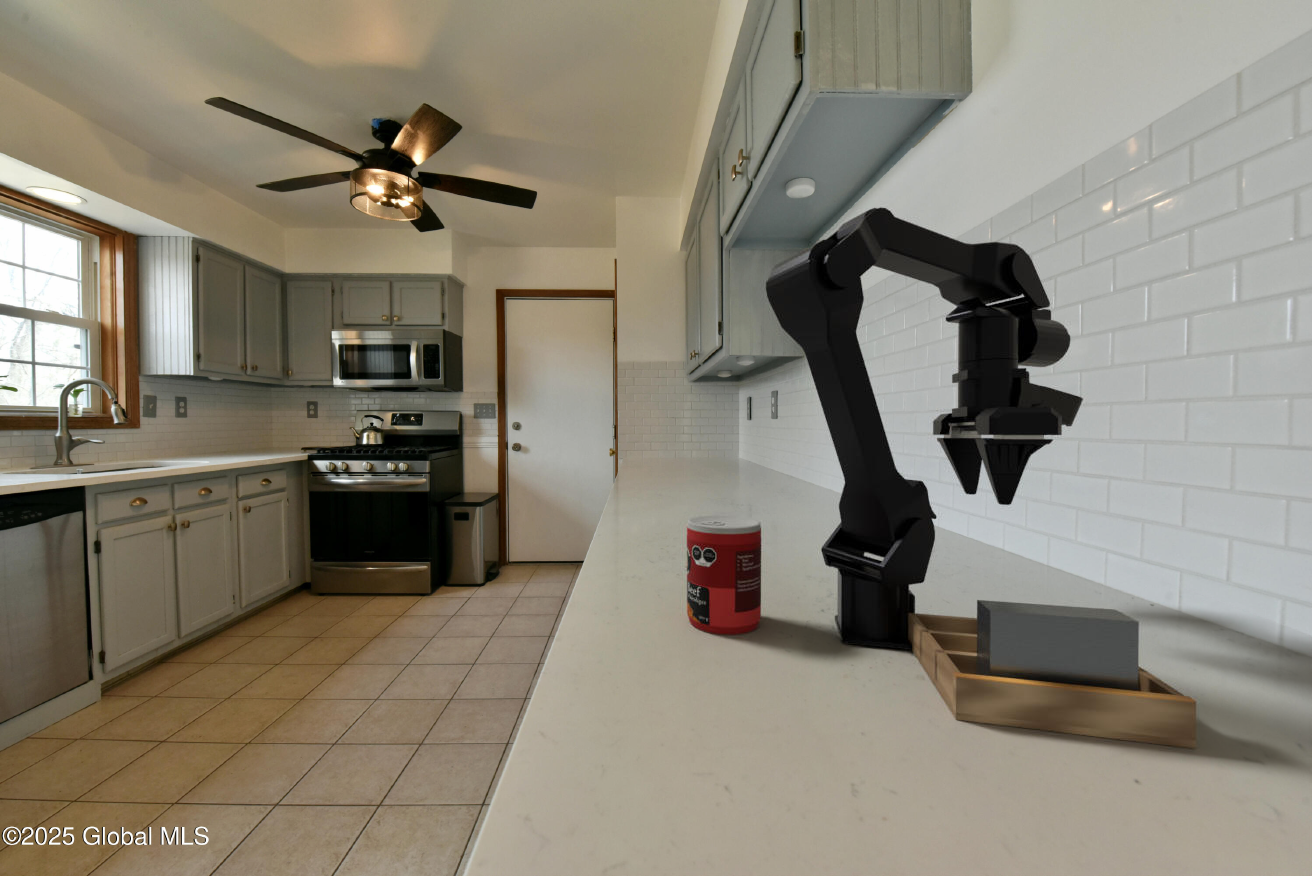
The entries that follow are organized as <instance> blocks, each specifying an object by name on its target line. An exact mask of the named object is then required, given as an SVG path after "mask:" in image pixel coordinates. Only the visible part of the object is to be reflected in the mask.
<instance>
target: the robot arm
mask: <svg viewBox="0 0 1312 876" xmlns="http://www.w3.org/2000/svg"><path fill="white" fill-rule="evenodd" d="M873 266H874V267H876V268H880V269H882V270H886V271H889V272H892V273H895V274H898V275H902V276H904V277H907V278H911V279H914V280H916V281H917V280H918V281H921V282H924V283H927V284H929V285H933V286H934V287H936V288H937V289H938V290H939V293H940V296H941V298H942V299H944V300H945V301H947V302H949V303H951V304H953V305H954V306H956V307H955V308H954V309H953V310H952V311H950V312H949V313H948V314H947V315H946V316H945V322H948V323H951V324H952V323H953V324H958V330H957V331H958V334H957V335H958V337H957V338H958V339H957V344H958V346H957V347H958V349H957V350H958V351H957V352H958V353H957V363H958V364H957V372H956V373H952V374H951V375H952V376H951V383H952V384H957V407H954V408H952V409H951V412H950V413H942V414H941V413H940V414H939V415H938V416H937V417H936V418H935V419H934V420H933V421H932V430H933V431H932V435H934V436H943V437H937V438H936V439H937V442H938V443H939V444H940V446H941V448H942V450H943V451H944V454H945V456H946V458H947V459H948V462H949V463H950V465H951V467H952V469H953V472H954V473H955V475H956V477H957V479H958V481H959V483H960V486H961V487H962V489H963V492H964V493H965V495H972V496H973V495H976V494H977V492H978V487H979V483H980V477H981V476H980V475H981V469H982V464H983V465H984V468H985V471H986V475H987V477H988V480H989V483H990V486H991V489H992V491H993V493H994V494H993V495H994V496H995V499H996V502H997V503H998V504H999V505H1001V506H1010V505H1012V503H1013V500H1014V498H1015V496H1016V493H1017V490H1018V487H1019V485H1020V481H1021V479H1022V476H1023V474H1024V471H1025V468H1026V466H1027V464H1028V462H1029V460H1030V458H1031V456H1032V455H1033V454H1035V453H1036V452H1037V451H1039V450H1040V449H1041V448H1043V447H1045V446H1047V445H1050V444H1052V442H1053V441H1054V439H1053V438H1045V436H1062V432H1063V431H1062V429H1063V428H1062V426H1065V427H1073V423H1074V421H1075V419H1076V417H1077V414H1078V412H1079V410H1080V407H1081V405H1082V402H1083V401H1084V398H1083V397H1081V396H1079V395H1075V394H1073V393H1068V392H1066V391H1062V390H1059V389H1055V388H1052V387H1048V386H1044V385H1039V384H1037V383H1032V382H1030V372H1029V371H1028V370H1027V368H1026V367H1033V368H1034V367H1035V368H1047V367H1049V366H1053V365H1054V364H1057V362H1059V361H1060V360H1062V358H1064V356H1065V355H1066V354H1067V353H1068V351H1069V348H1070V345H1071V335H1070V334H1069V332H1068V329H1067V328H1066V327H1065V325H1064V324H1062V323H1061V322H1060V321H1056V320H1054V319H1052V311H1051V309H1049V307H1050V306H1051V303H1050V299H1049V297H1048V295H1047V293H1046V290H1045V288H1044V285H1043V283H1042V281H1041V279H1040V277H1039V276H1040V275H1038V271H1037V269H1036V267H1035V265H1034V261H1033V260H1032V258H1031V256H1030V255H1029V254H1028V253H1027V251H1025V249H1024V248H1022V247H1021V246H1019V245H1018V244H1015V243H1009V242H1003V241H1002V242H1000V241H990V242H981V243H980V242H977V243H967V242H963V241H960V240H957V239H956V238H953V237H950V236H948V235H944V234H942V233H939V232H936V231H933V230H931V229H928V228H926V227H923V226H920V225H918V224H915V223H912V222H910V221H907V220H904V219H901V218H900V217H896V216H894V214H893V212H892V211H891V210H889V209H888V208H887V207H874V208H873V207H872V208H870V209H867V210H866V211H864V212H863V213H860V214H858V215H856V216H855V217H853V218H852V219H849V220H848V221H846V222H844V223H843V224H841V226H839V227H838V229H837V230H836V231H835V232H833V233H832V234H831V235H830V236H828V237H827V238H825V239H822V240H820V241H818V242H815V244H813V245H810V246H809V247H807V248H805V249H803V250H800V251H798V252H797V253H796V254H794V255H791V256H790V257H787V258H786V259H784V260H783V261H780V262H779V263H777V264H775V266H774V267H773V268H772V269H771V271H770V273H769V276H768V278H767V280H766V281H765V291H766V295H767V300H768V302H769V304H770V306H771V309H772V310H773V311H772V312H773V313H774V315H775V316H776V319H777V321H778V323H779V324H780V327H781V328H782V330H784V332H785V333H786V334H787V335H789V336H790V337H791V338H792V339H793V340H794V341H795V343H797V345H798V346H800V347H801V348H802V350H803V352H804V354H805V357H806V360H807V363H808V364H807V365H808V366H809V370H810V374H811V376H812V380H813V382H814V386H815V390H816V392H817V396H818V399H819V402H820V405H821V407H822V412H823V415H824V418H825V421H826V424H827V428H828V430H829V434H830V437H831V441H832V444H833V447H834V450H835V453H836V456H837V459H838V463H839V466H840V468H841V471H842V476H843V478H844V479H843V480H844V484H843V488H842V493H841V496H840V499H839V502H838V510H839V516H840V517H839V518H840V523H839V524H838V525H837V527H836V528H834V529H835V530H834V531H833V532H832V533H831V535H830V536H829V537H828V538H827V539H826V541H825V542H824V544H823V545H822V546H821V549H820V550H821V555H822V557H823V561H824V563H825V566H826V567H829V568H835V569H837V611H836V612H837V613H836V615H834V622H835V626H836V629H837V631H838V634H839V638H840V641H841V642H842V643H844V644H852V645H860V646H861V645H863V646H871V647H872V646H873V647H881V648H882V647H884V648H893V649H894V648H895V649H904V650H911V649H912V644H911V642H910V640H909V639H908V614H909V613H916V595H915V594H914V593H913V592H912V591H911V590H910V586H912V585H916V584H923V583H924V582H925V580H926V575H927V572H928V569H929V564H930V560H931V556H932V552H933V548H934V544H935V540H936V530H935V525H934V521H933V520H936V519H937V518H938V516H937V514H935V512H934V510H933V508H932V505H931V504H930V498H929V492H928V491H929V490H928V487H927V486H926V484H925V483H924V481H923V480H917V479H909V478H908V479H907V478H905V477H904V476H902V475H901V473H900V472H899V471H898V469H897V467H896V465H895V461H894V458H893V453H892V451H891V447H890V444H889V440H888V437H887V434H886V431H885V427H884V423H883V421H882V417H881V413H880V410H879V406H878V404H877V400H876V396H875V393H874V390H873V387H872V383H871V380H870V376H869V372H868V369H867V366H866V364H865V363H866V362H865V359H864V356H863V352H862V349H861V346H860V343H859V339H858V335H857V329H858V324H859V322H860V318H861V313H862V309H863V304H864V300H865V298H864V290H863V285H862V284H863V283H862V278H861V277H862V276H863V275H864V274H865V273H866V272H868V270H869V269H871V268H872V267H873ZM1021 296H1022V297H1021ZM1019 366H1021V368H1019ZM982 436H993V437H982ZM865 554H868V555H872V556H875V557H879V558H883V559H882V560H880V559H877V558H872V557H870V556H866V555H865Z"/></svg>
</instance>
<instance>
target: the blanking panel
mask: <svg viewBox="0 0 1312 876" xmlns="http://www.w3.org/2000/svg"><path fill="white" fill-rule="evenodd" d="M976 618H977V675H983V676H993V677H1003V678H1013V679H1023V680H1033V681H1042V682H1052V683H1062V684H1072V685H1082V686H1091V687H1101V688H1111V689H1121V690H1131V691H1138V666H1139V654H1140V653H1139V650H1140V649H1139V647H1140V646H1139V635H1140V633H1139V631H1140V630H1139V628H1140V626H1139V625H1140V624H1139V623H1140V622H1139V621H1138V620H1136V619H1135V618H1132V617H1131V616H1129V615H1127V614H1125V613H1123V612H1120V611H1119V610H1117V609H1114V608H1113V609H1112V608H1098V607H1097V608H1096V607H1085V606H1083V607H1082V606H1069V605H1054V604H1040V603H1026V602H1015V601H1014V602H1011V601H1010V602H1009V601H1000V600H999V601H997V600H983V599H977V600H976Z"/></svg>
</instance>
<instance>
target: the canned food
mask: <svg viewBox="0 0 1312 876" xmlns="http://www.w3.org/2000/svg"><path fill="white" fill-rule="evenodd" d="M686 613H687V617H688V620H689V623H690V624H691V625H692V626H693V627H694V628H695V629H698V630H701V631H702V632H706V633H709V634H715V635H724V636H727V635H728V636H734V635H743V634H747V633H750V632H753V631H754V630H756V629H757V628H758V627H759V624H760V622H761V619H762V526H761V522H760V521H759V520H756V519H754V518H750V517H743V516H737V515H735V516H734V515H703V516H695V517H692V518H690V519H688V520H687V524H686Z"/></svg>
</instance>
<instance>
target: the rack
mask: <svg viewBox="0 0 1312 876" xmlns="http://www.w3.org/2000/svg"><path fill="white" fill-rule="evenodd" d="M908 639H909V640H910V642H911V644H912V649H910V650H911V651H912V653H913V655H914V656H915V658H916V659H917V661H918V663H919V664H920V665H921V668H922V669H923V671H924V672H925V673H926V675H927V677H928V679H929V680H930V681H931V683H932V684H933V686H934V688H935V689H936V691H937V692H938V694H939V696H940V697H941V699H942V700H943V702H944V703H945V705H946V706H947V709H949V711H950V713H951V714H952V715H953V718H954V719H955V720H957V721H966V722H973V723H974V722H975V723H982V724H989V725H990V724H991V725H997V726H1007V727H1014V728H1015V727H1016V728H1023V729H1031V730H1041V731H1048V732H1058V733H1063V734H1064V733H1065V734H1073V735H1081V736H1088V737H1089V736H1090V737H1096V738H1104V739H1113V740H1120V741H1121V740H1122V741H1131V742H1137V743H1148V744H1155V745H1162V746H1163V745H1165V746H1170V747H1179V748H1186V749H1187V748H1188V749H1197V746H1196V743H1197V740H1196V739H1197V736H1196V735H1197V701H1196V700H1195V699H1193V698H1192V697H1190V696H1187V695H1185V694H1183V693H1181V692H1180V691H1179V690H1177V689H1175V688H1174V687H1172V686H1171V685H1169V684H1168V683H1166V682H1164V681H1163V680H1161V679H1159V678H1158V677H1156V675H1154V674H1152V673H1150V672H1148V671H1147V670H1146V669H1144V668H1142V667H1141V666H1139V665H1138V691H1131V690H1121V689H1111V688H1101V687H1091V686H1082V685H1072V684H1062V683H1052V682H1042V681H1033V680H1023V679H1013V678H1003V677H993V676H983V675H977V617H964V616H953V615H943V614H940V615H939V614H929V613H926V614H925V613H916V612H915V613H909V614H908Z"/></svg>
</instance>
